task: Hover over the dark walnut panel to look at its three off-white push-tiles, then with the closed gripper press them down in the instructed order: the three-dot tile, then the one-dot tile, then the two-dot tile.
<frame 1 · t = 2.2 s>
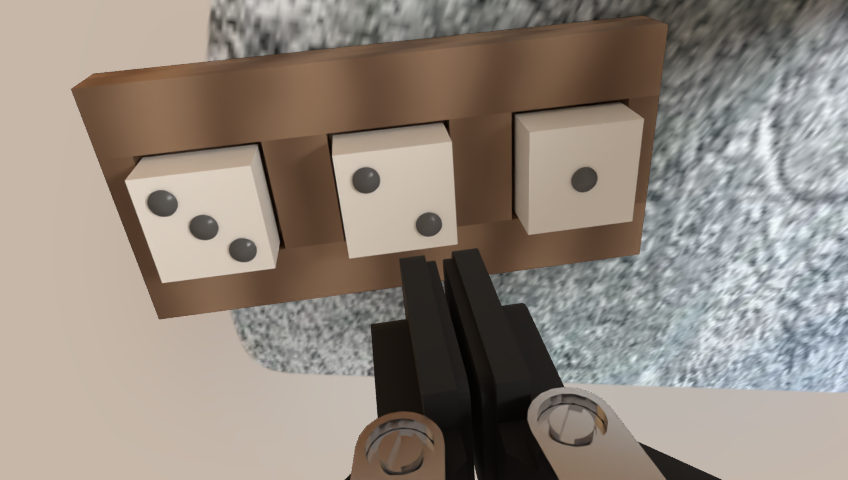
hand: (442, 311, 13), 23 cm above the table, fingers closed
tile two: (396, 191, 32), point 4 cm above the table, slide at 0.0 cm
panel: (390, 162, 35), on the table
tile one: (574, 168, 33), point 4 cm above the table, slide at 0.0 cm
tile three: (209, 214, 31), point 4 cm above the table, slide at 0.0 cm
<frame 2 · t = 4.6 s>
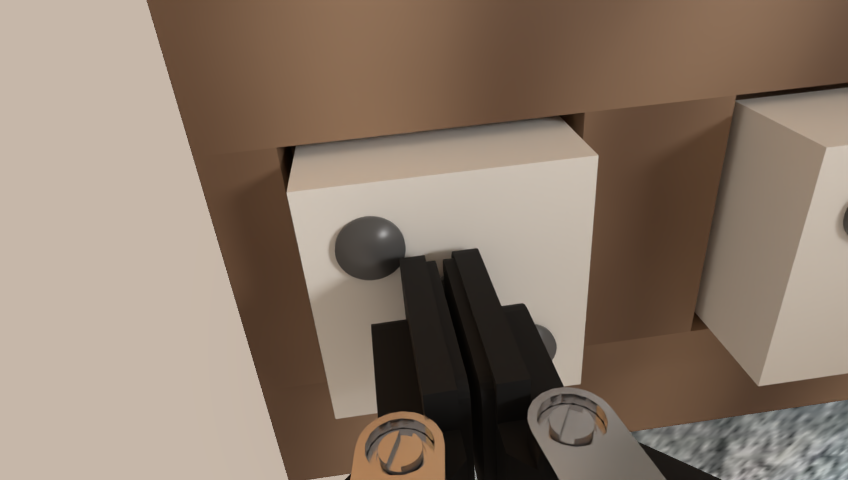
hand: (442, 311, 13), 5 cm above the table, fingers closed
panel: (764, 164, 17), on the table
tile three: (443, 265, 14), point 3 cm above the table, slide at 0.9 cm, touching gripper
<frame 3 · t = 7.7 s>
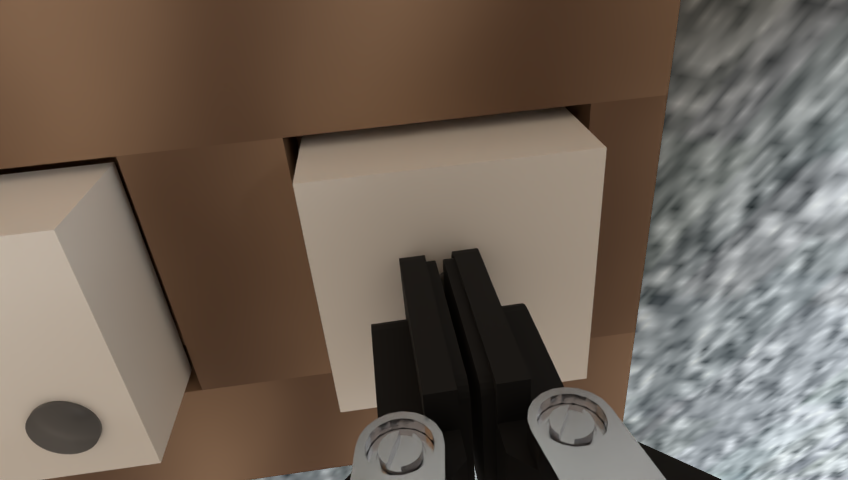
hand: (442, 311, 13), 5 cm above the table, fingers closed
panel: (71, 240, 16), on the table
tile one: (449, 259, 14), point 3 cm above the table, slide at 0.8 cm, touching gripper
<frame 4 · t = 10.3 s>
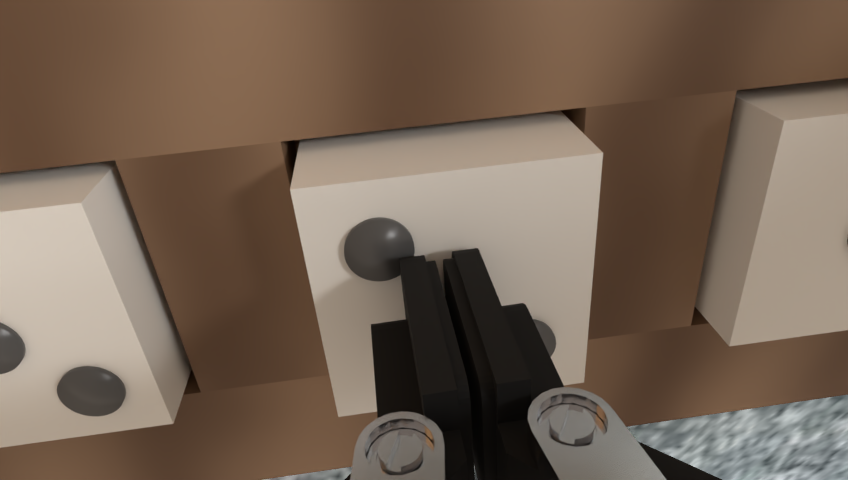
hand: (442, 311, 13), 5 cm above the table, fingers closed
tile two: (447, 263, 14), point 3 cm above the table, slide at 0.7 cm, touching gripper
panel: (429, 200, 17), on the table
tile one: (833, 203, 15), point 3 cm above the table, slide at 1.2 cm
tile three: (21, 305, 14), point 3 cm above the table, slide at 1.2 cm
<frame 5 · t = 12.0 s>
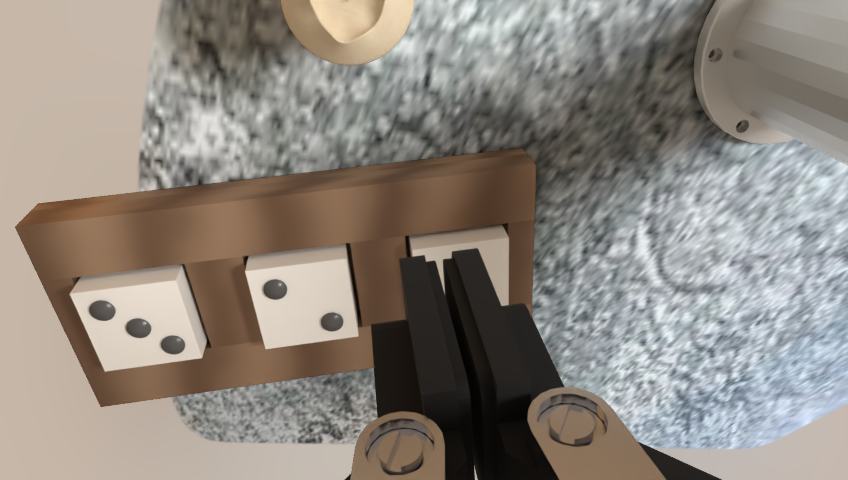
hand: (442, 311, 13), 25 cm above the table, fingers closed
tile two: (305, 292, 38), point 3 cm above the table, slide at 1.2 cm
panel: (307, 268, 40), on the table
tile one: (458, 272, 39), point 3 cm above the table, slide at 1.2 cm
tile three: (145, 313, 37), point 3 cm above the table, slide at 1.2 cm
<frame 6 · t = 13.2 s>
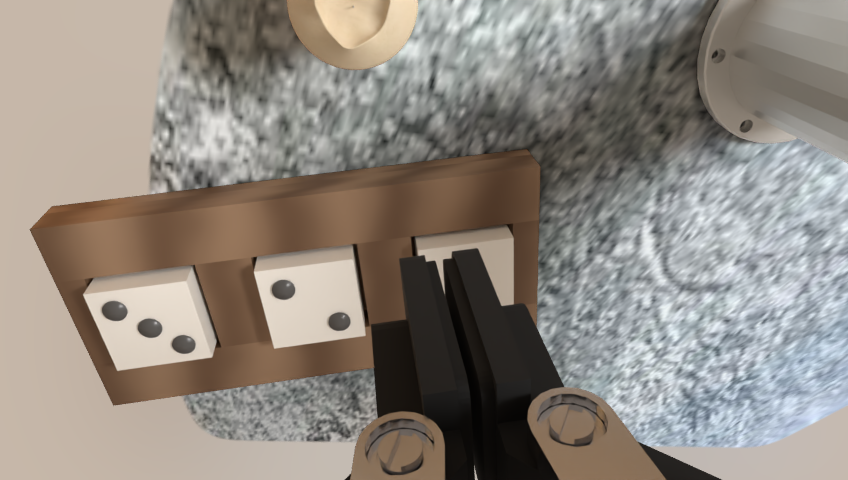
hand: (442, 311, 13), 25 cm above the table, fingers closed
tile two: (313, 292, 38), point 3 cm above the table, slide at 1.2 cm
panel: (314, 269, 41), on the table
tile one: (464, 272, 39), point 3 cm above the table, slide at 1.2 cm
tile three: (156, 313, 38), point 3 cm above the table, slide at 1.2 cm
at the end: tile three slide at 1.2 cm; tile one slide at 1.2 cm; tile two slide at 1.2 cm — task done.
